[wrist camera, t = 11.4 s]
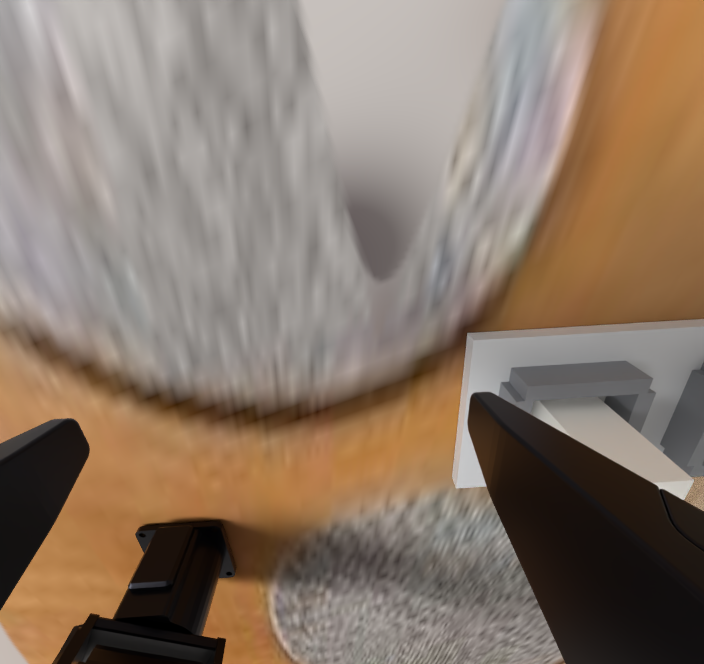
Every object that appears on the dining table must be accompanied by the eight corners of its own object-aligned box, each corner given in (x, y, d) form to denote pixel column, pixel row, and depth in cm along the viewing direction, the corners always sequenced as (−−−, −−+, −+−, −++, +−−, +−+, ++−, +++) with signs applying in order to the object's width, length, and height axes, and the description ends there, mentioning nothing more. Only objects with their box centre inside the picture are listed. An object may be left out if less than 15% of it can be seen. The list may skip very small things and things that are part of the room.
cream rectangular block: (574, 438, 23) (663, 538, 17) (521, 442, 23) (592, 543, 17) (588, 389, 22) (694, 479, 15) (532, 393, 21) (614, 485, 15)
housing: (764, 456, 26) (928, 565, 19) (452, 477, 26) (497, 596, 18) (854, 309, 21) (1127, 381, 14) (467, 332, 21) (538, 420, 13)
